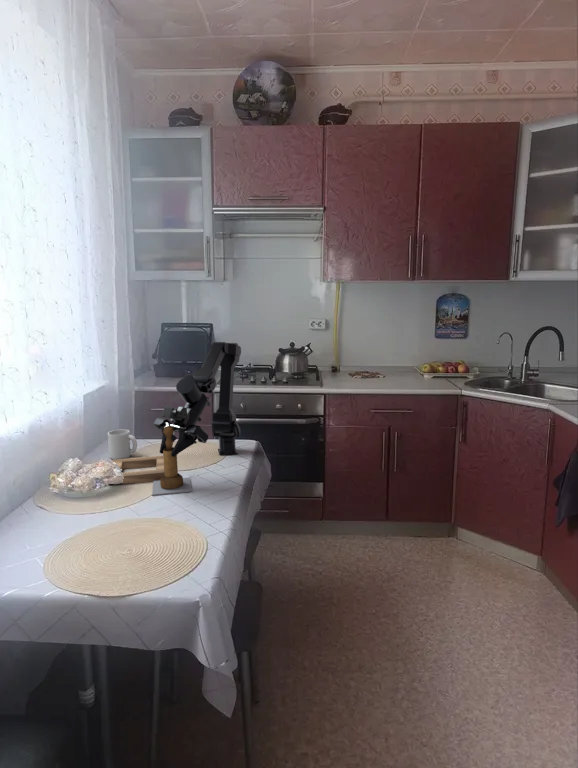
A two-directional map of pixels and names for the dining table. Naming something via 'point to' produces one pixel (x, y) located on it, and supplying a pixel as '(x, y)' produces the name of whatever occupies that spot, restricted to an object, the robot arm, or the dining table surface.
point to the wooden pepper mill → (170, 463)
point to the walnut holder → (138, 463)
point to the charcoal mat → (162, 491)
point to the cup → (121, 444)
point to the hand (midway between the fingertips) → (166, 454)
